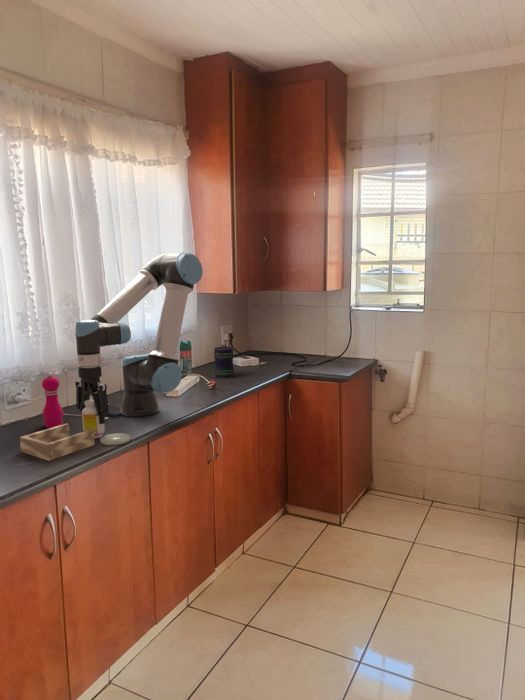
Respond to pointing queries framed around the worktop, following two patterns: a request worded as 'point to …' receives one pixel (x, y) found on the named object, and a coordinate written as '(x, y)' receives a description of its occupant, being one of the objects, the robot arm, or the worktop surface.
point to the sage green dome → (115, 439)
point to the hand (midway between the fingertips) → (93, 430)
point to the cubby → (55, 442)
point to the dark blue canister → (223, 362)
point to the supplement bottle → (90, 418)
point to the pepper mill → (52, 402)
